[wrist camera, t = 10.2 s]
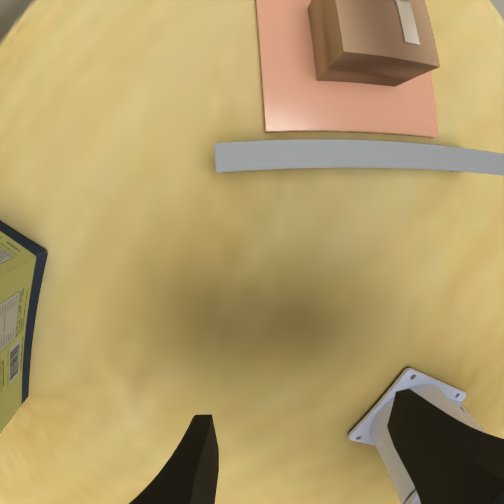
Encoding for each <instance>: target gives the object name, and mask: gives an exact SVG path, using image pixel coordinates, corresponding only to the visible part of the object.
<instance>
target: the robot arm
mask: <svg viewBox="0 0 504 504" xmlns="http://www.w3.org/2000/svg"><path fill="white" fill-rule="evenodd" d="M412 375H413V376H412ZM465 397H466V393H465V392H464V391H462V390H460V389H457V388H455V387H453V386H451V385H448V384H446V383H444V382H441V381H439V380H437V379H435V378H433V377H430V376H428V375H426V374H424V373H421V372H419V371H417V370H415V369H413V368H407V369H405V370H404V371H403V372H402V374H401V375H400V376H399V377H398V379H397V380H396V381H395V382H394V384H393V385H392V386H391V387H390V388H389V390H388V391H387V392H386V393H385V394H384V396H383V397H382V398H381V399H380V400H379V401H378V402H377V404H376V405H375V406H374V407H373V408H372V409H371V410H370V411H369V413H368V414H367V415H366V416H365V417H364V418H363V419H362V420H361V421H360V422H359V423H358V424H357V426H356V427H355V428H354V429H353V430H352V431H351V432H350V433H349V434H348V437H349V439H350V440H352V441H356V442H360V443H365V444H369V445H374V446H376V448H377V451H378V453H379V455H380V457H381V459H382V462H383V464H384V466H385V468H386V470H387V473H388V475H389V477H390V479H391V482H392V484H393V486H394V488H395V491H396V493H397V495H398V497H399V500H400V502H401V504H504V439H501V438H498V437H495V436H492V435H489V434H486V433H485V432H484V431H483V430H482V428H481V427H480V426H479V425H478V423H477V422H476V421H475V420H474V419H473V417H472V416H471V415H470V414H469V412H468V411H467V410H466V409H465V408H464V406H463V405H462V404H461V402H462V401H463V400H464V399H465ZM218 471H219V453H218V444H217V439H216V434H215V429H214V424H213V418H212V415H195V416H194V417H193V419H192V421H191V423H190V425H189V427H188V429H187V431H186V433H185V435H184V437H183V438H182V440H181V442H180V443H179V445H178V447H177V448H176V450H175V451H174V453H173V455H172V456H171V457H170V459H169V460H168V462H167V463H166V464H165V466H164V467H163V468H162V470H161V471H160V472H159V474H158V475H157V476H156V477H155V478H154V480H153V481H152V482H151V483H150V484H149V485H148V486H147V487H146V488H145V489H144V490H143V491H142V492H141V493H140V494H139V495H138V496H137V497H136V498H135V499H134V500H133V501H131V502H130V503H129V504H214V503H215V495H216V487H217V479H218Z"/></svg>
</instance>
